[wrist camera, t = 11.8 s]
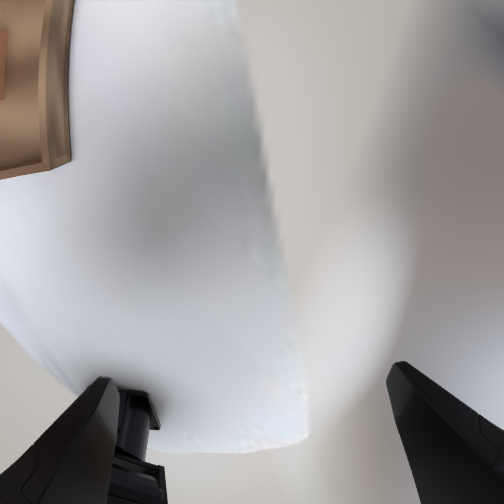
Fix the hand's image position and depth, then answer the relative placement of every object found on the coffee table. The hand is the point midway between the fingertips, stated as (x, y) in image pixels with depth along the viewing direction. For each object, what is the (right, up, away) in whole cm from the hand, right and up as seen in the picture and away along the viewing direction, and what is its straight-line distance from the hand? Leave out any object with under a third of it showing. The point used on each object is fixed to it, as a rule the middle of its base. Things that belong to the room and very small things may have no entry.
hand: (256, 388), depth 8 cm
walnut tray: (-18, +16, +3) cm, 24 cm away
